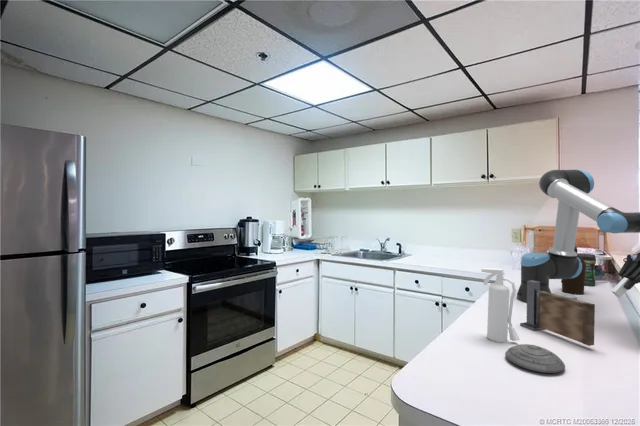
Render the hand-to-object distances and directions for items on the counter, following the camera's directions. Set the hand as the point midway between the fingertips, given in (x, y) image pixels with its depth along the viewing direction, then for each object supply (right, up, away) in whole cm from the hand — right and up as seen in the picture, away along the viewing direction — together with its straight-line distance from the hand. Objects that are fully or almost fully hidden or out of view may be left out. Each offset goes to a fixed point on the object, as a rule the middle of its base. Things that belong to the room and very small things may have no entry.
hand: (615, 294), depth 111 cm
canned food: (-1, -17, +22) cm, 27 cm away
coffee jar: (+57, -15, +83) cm, 102 cm away
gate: (-15, -16, +5) cm, 22 cm away
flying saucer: (-36, -18, -13) cm, 43 cm away
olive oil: (+37, -16, +66) cm, 77 cm away
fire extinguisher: (-37, -17, +4) cm, 41 cm away
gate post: (-18, -17, +15) cm, 29 cm away
